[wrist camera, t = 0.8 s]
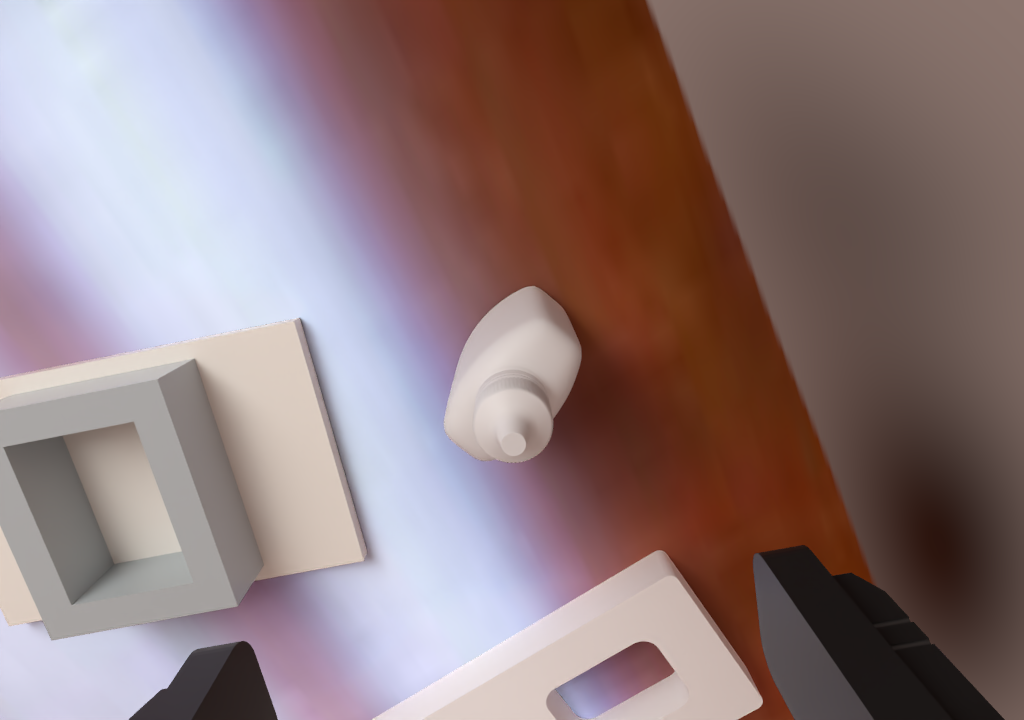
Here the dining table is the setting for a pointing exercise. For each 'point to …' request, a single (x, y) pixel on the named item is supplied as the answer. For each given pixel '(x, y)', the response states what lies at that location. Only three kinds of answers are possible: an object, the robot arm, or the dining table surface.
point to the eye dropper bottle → (513, 378)
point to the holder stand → (167, 481)
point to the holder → (600, 658)
